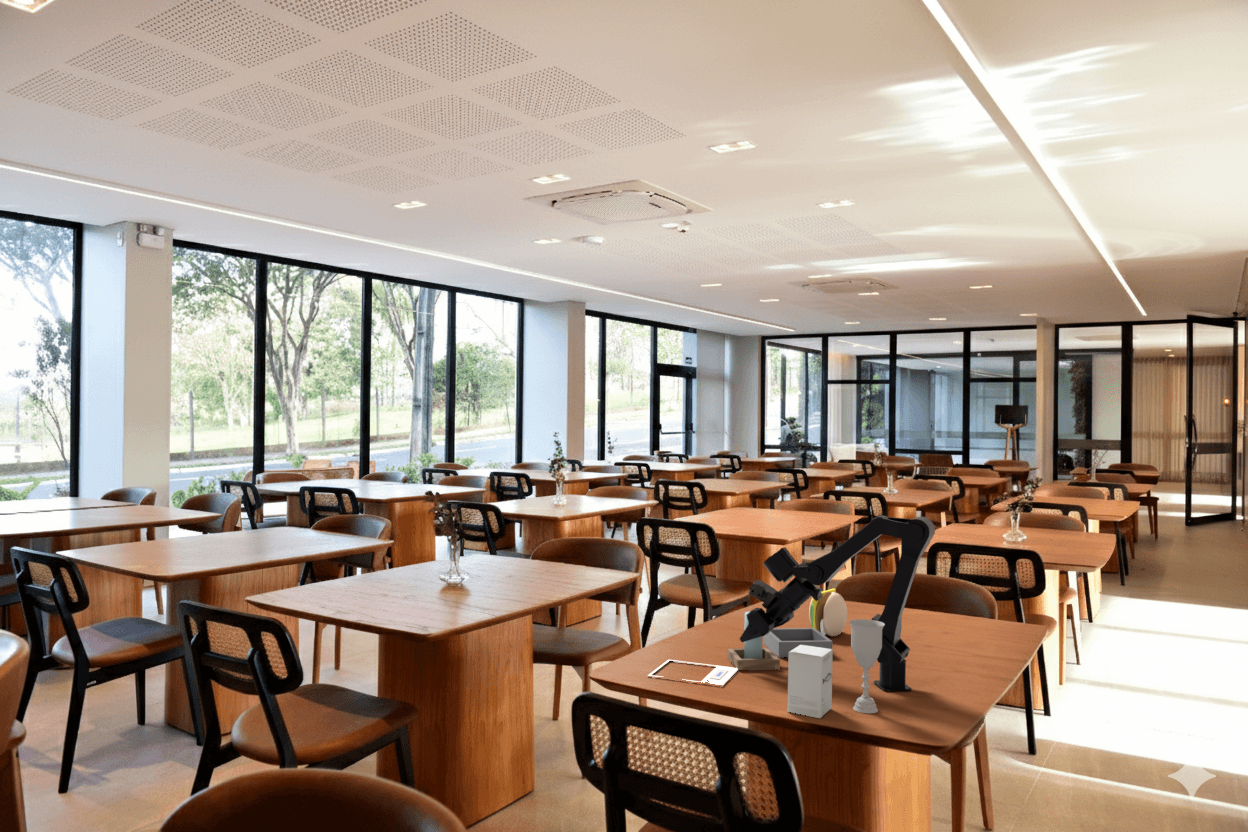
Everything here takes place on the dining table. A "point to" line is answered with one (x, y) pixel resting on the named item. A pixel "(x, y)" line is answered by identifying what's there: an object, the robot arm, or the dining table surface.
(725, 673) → the photo frame
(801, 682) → the supplement box
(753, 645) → the pale blue tapered cylinder
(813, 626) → the hamburger
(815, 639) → the bin
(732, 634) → the dining table surface
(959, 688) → the dining table surface
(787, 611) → the robot arm
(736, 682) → the dining table surface
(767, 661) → the holder
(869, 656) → the chalice
